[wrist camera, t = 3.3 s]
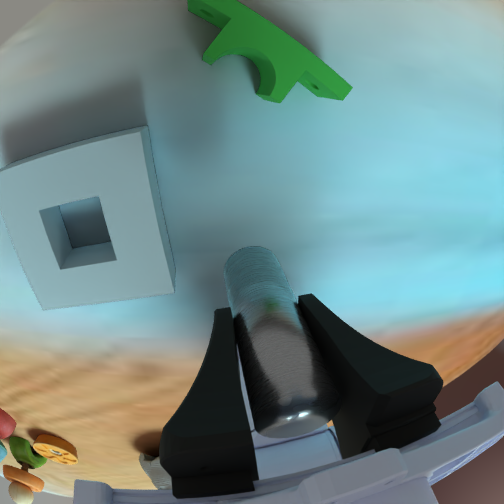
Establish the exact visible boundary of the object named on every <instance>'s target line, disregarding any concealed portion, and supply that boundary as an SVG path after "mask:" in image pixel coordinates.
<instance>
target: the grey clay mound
mask: <svg viewBox="0 0 504 504" xmlns="http://www.w3.org/2000/svg"><path fill="white" fill-rule="evenodd" d="M139 461H140V464H141V466H142V468H143V470H144V471H145V473H146V474H147V475H148V476H149V477H150V478H151V480H152V483H153V484H154V485H155V487H156V488H158V490H168V489H172V481H171V476H170V475H169V474H168V473H167V472H166V471H165V470H164V469H163V468H162V466H161V465H160V459H159V456H158V457H157V458H156V457H153V456H148V455H146V454H143V453H141V454H140V456H139Z"/></svg>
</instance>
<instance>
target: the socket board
mask: <svg viewBox="0 0 504 504" xmlns="http://www.w3.org/2000/svg"><path fill="white" fill-rule="evenodd" d="M97 196H99V199H100V203H101V207H102V210H103V214H104V218H105V221H106V225H107V228H108V232H109V235H110V239H111V242H106V243H100V244H95V245H89V246H84V247H79V248H72V246H71V243H70V240H69V237H68V234H67V231H66V228H65V225H64V222H63V219H62V215H61V212H60V209H59V205H62V204H66V203H70V202H74V201H79V200H83V199H88V198H92V197H97ZM0 211H1V214H2V217H3V220H4V223H5V225H6V228H7V231H8V234H9V236H10V239H11V242H12V244H13V247H14V249H15V252H16V254H17V257H18V259H19V261H20V264H21V266H22V268H23V270H24V273H25V275H26V277H27V279H28V281H29V284H30V286H31V288H32V290H33V292H34V294H35V296H36V298H37V300H38V302H39V304H40V306H41V308H42V310H51V309H59V308H68V307H76V306H84V305H92V304H100V303H108V302H115V301H123V300H130V299H137V298H145V297H152V296H159V295H166V294H173V293H175V275H176V269H175V264H174V260H173V256H172V251H171V247H170V243H169V238H168V233H167V229H166V224H165V219H164V214H163V210H162V205H161V199H160V194H159V189H158V184H157V178H156V173H155V167H154V161H153V155H152V149H151V143H150V137H149V130H148V125H147V126H142V127H137V128H132V129H128V130H123V131H119V132H114V133H110V134H106V135H102V136H98V137H94V138H90V139H86V140H82V141H79V142H75V143H72V144H68V145H65V146H61V147H58V148H55V149H51V150H48V151H45V152H42V153H39V154H36V155H33V156H30V157H27V158H24V159H21V160H19V161H16V162H13V163H11V164H9V165H7V166H5V167H4V168H2V169H0Z"/></svg>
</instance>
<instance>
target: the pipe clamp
mask: <svg viewBox="0 0 504 504" xmlns="http://www.w3.org/2000/svg"><path fill="white" fill-rule="evenodd" d="M187 1H188V11H190V12H192V13H194V14H196V15H197V16H199V17H201V18H203V19H205V20H206V21H208V22H210V23H212V24H213V25H215V26H217V27H218V28H220V29H222V31H221V32H220V33H219V34H218V36H217V37H216V38H215V39H214V41H213V42H212V43H211V45H210V46H209V47H208V48H207V50H206V51H205V52H204V54H203V58H202V60H203V61H205V62H206V63H208V64H210V65H212V64H213V63H214V62H215V61H216V60H217V59H219V58H220V57H222V56H225V55H230V54H237V55H242V56H245V57H247V58H249V59H250V60H251V61H253V62H254V63H255V65H256V66H257V68H258V70H259V73H260V86H259V89H258V91H257V93H256V95H258V96H259V97H261V98H262V99H264V100H267V101H272V102H276V103H281V102H282V100H283V99H284V98H285V96H286V95H287V94H288V92H289V91H290V90H291V88H292V87H293V86H294V85H295V83H296V82H297V81H298V82H299V83H301V84H302V85H303V86H305V87H306V88H307V89H308V90H310V91H311V92H312V93H313V94H315V95H316V96H317V97H324V98H330V99H336V100H342V101H343V100H344V98H345V97H346V96H347V95H348V93H349V92H350V91H351V89H352V88H353V87H352V86H351V85H349V84H348V83H347V82H346V81H345V80H344V79H343V78H342V77H340V76H339V75H338V74H337V73H336V72H335V71H334V70H332V69H331V68H330V67H329V66H328V65H326V64H325V63H324V62H323V61H322V60H320V59H319V58H318V57H317V56H315V55H314V54H313V53H312V52H310V51H309V50H308V49H307V48H305V47H304V46H303V45H301V44H300V43H299V42H297V41H296V40H295V39H293V38H292V37H291V36H289V35H288V34H287V33H285V32H284V31H282V30H281V29H280V28H278V27H277V26H275V25H274V24H272V23H271V22H270V21H268V20H267V19H265V18H264V17H262V16H261V15H259V14H258V13H256V12H254V11H253V10H251V9H250V8H248V7H247V6H245V5H243V4H242V3H240V2H238V1H237V0H187Z"/></svg>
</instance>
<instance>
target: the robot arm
mask: <svg viewBox="0 0 504 504" xmlns="http://www.w3.org/2000/svg"><path fill="white" fill-rule="evenodd" d="M298 305H299V307H300V310H301V312H302V314H303V316H304V318H305V321H306V323H307V325H308V327H309V329H310V332H311V334H312V336H313V338H314V340H315V343H316V345H317V347H318V349H319V352H320V354H321V356H322V358H323V360H324V363H325V365H326V367H327V369H328V372H329V374H330V376H331V378H332V381H333V383H334V385H335V387H336V390H337V392H338V394H339V397H340V399H341V401H342V405H341V409H340V411H339V412H338V414H337V415H336V416H335V417H334V418H333V419H332V421H333V424H334V426H330V427H327V424H325V425H323V426H322V427H320V428H318V429H316V430H314V431H311V432H309V433H306V434H303V435H299V436H295V437H290V438H268V437H265V436H262V435H260V434H258V433H257V432H256V430H255V428H254V423H253V419H252V414H251V410H250V405H249V400H248V396H247V391H246V386H245V381H244V377H243V372H242V367H241V362H240V357H239V352H238V347H237V343H236V336H235V329H234V322H233V316H232V311H231V307H228V308H222V309H216V310H215V312H214V324H213V330H212V334H211V338H210V342H209V346H208V349H207V352H206V355H205V358H204V360H203V363H202V366H201V368H200V370H199V373H198V375H197V377H196V379H195V381H194V383H193V385H192V387H191V389H190V390H189V392H188V394H187V396H186V397H185V399H184V400H183V402H182V403H181V405H180V406H179V408H178V409H177V411H176V412H175V414H174V415H173V416H172V417H171V419H170V420H169V421H168V422H167V424H166V425H165V426H164V428H163V432H162V435H161V440H160V447H159V459H160V465H161V466H162V468H163V469H164V470H165V471H166V472H167V473H168V474H169V475H170V476H171V481H172V489H168V490H131V489H112V488H111V487H110V486H109V485H108V484H106V483H103V482H98V481H87V480H78V479H76V480H75V484H74V498H73V499H74V500H73V504H439V503H438V502H437V499H436V497H435V495H434V493H433V491H432V489H431V487H430V486H431V485H432V484H434V483H436V482H437V481H439V480H441V479H442V478H444V477H446V476H447V475H449V474H451V473H452V472H454V471H455V470H457V469H458V468H460V467H462V466H463V465H465V464H466V463H467V462H469V461H470V460H472V459H473V458H475V457H476V456H478V455H479V454H480V453H482V452H483V451H485V450H486V449H487V448H489V447H490V446H492V445H493V444H494V443H496V442H497V441H498V440H499V439H500V438H501V437H502V436H503V435H504V389H503V388H502V387H501V385H500V384H499V383H498V382H495V383H494V384H492V385H490V386H489V387H487V388H485V389H484V390H483V391H481V392H480V393H479V394H478V395H477V397H476V398H475V400H474V402H472V403H471V404H469V405H467V406H465V407H463V408H462V409H460V410H458V411H456V412H454V413H452V414H451V415H449V416H447V417H445V418H443V419H441V420H439V419H438V418H437V416H436V414H435V411H436V407H435V405H434V404H433V402H434V400H435V399H436V397H437V396H438V394H439V393H440V391H441V389H442V387H443V380H442V378H441V377H440V375H439V374H438V372H437V371H436V369H435V368H434V367H433V366H432V365H431V364H427V363H424V362H420V361H417V360H414V359H411V358H408V357H405V356H403V355H400V354H398V353H395V352H393V351H391V350H389V349H387V348H385V347H383V346H381V345H379V344H377V343H375V342H373V341H372V340H370V339H368V338H367V337H365V336H363V335H362V334H360V333H359V332H357V331H356V330H354V329H353V328H352V327H350V326H349V325H348V324H346V323H345V322H344V321H343V320H341V319H340V318H339V317H338V316H337V315H335V314H334V313H333V312H332V311H331V310H330V309H328V308H327V307H326V306H325V305H324V304H323V303H322V302H321V301H319V300H318V299H317V298H316V297H315V296H314V295H313V294H312V293H311V294H306V295H300V296H298Z"/></svg>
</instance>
